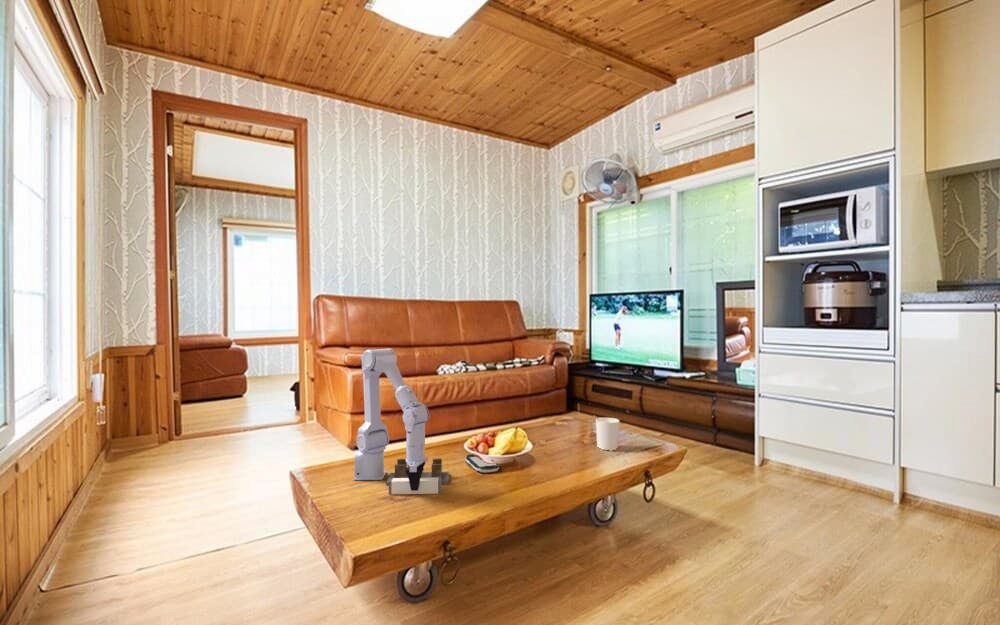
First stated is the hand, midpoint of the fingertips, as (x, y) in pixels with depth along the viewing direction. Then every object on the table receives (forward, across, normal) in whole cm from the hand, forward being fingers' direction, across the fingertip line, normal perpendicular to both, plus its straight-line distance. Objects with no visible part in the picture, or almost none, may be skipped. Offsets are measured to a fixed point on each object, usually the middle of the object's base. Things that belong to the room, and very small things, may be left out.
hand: (415, 487), depth 148 cm
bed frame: (+1, +11, 0) cm, 11 cm away
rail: (+1, 0, 0) cm, 1 cm away
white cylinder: (+2, +44, -75) cm, 87 cm away
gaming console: (+2, +25, -22) cm, 33 cm away
